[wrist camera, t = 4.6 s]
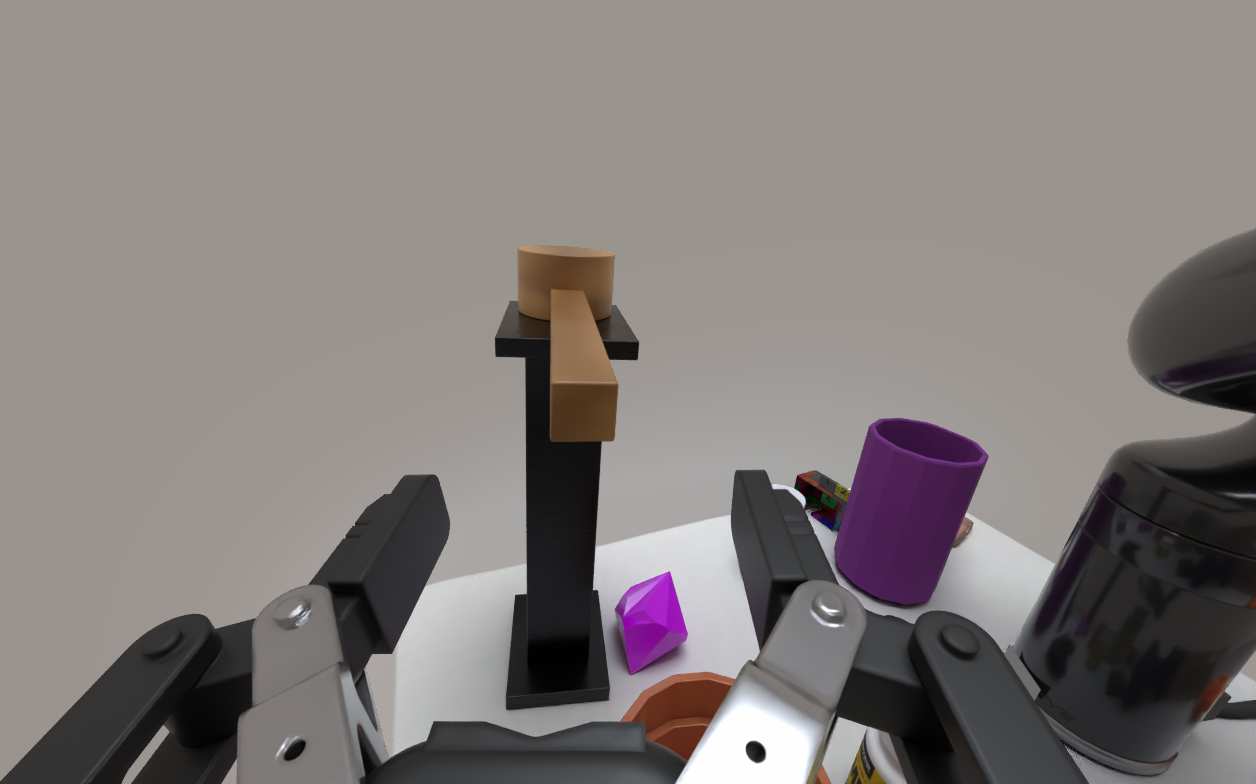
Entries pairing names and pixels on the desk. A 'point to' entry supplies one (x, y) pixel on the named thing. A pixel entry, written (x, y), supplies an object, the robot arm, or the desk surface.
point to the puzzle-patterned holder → (823, 497)
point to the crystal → (650, 621)
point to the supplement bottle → (876, 761)
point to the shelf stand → (557, 534)
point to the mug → (906, 508)
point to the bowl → (684, 711)
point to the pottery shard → (963, 530)
